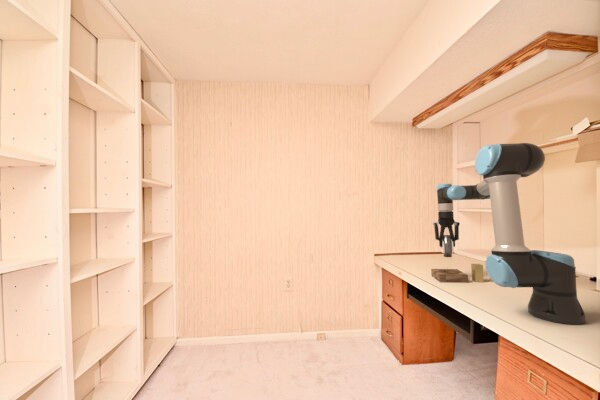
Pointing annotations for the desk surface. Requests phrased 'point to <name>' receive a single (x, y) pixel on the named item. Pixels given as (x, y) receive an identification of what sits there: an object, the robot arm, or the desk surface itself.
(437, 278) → the socket block
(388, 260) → the desk surface
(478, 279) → the square bit
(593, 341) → the desk surface
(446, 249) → the round bit
